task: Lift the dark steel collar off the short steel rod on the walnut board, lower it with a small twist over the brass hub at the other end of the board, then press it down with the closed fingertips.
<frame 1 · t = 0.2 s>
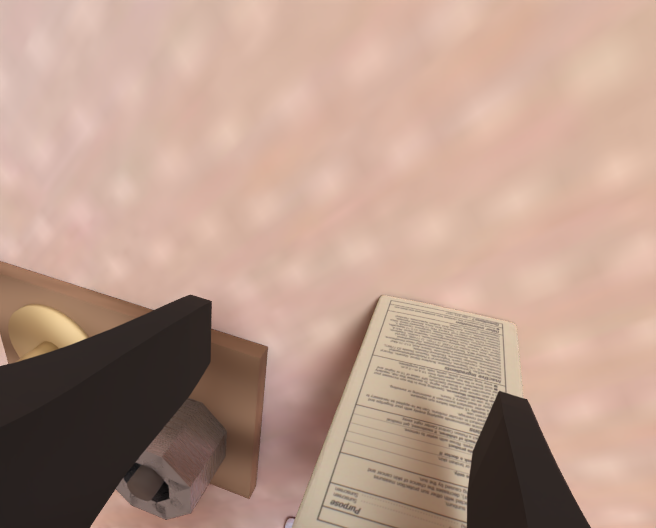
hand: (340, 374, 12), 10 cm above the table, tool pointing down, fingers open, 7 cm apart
collar: (186, 428, 29), point 1 cm above the table, touching board
skincare box: (442, 340, 22), on the table
board: (131, 377, 30), on the table
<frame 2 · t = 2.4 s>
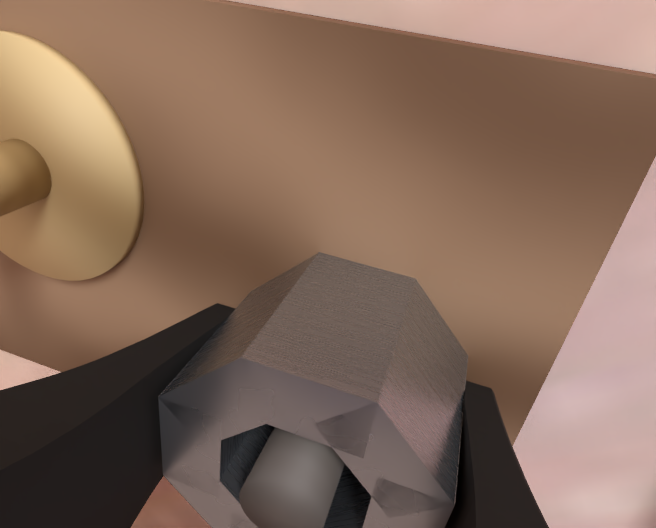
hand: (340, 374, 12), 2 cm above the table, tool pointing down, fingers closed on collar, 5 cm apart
collar: (347, 356, 12), point 1 cm above the table, touching board, gripper
board: (210, 244, 13), on the table
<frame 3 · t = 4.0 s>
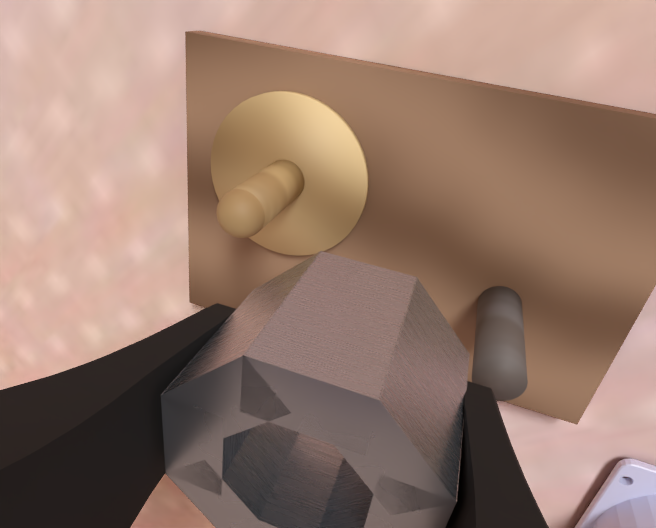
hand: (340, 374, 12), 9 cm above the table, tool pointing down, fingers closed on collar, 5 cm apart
collar: (349, 355, 12), point 8 cm above the table, touching gripper
board: (397, 230, 19), on the table
when the fingers open (4 cm above the table, at t = 6.1 s): collar drops 1 cm, resting on board.
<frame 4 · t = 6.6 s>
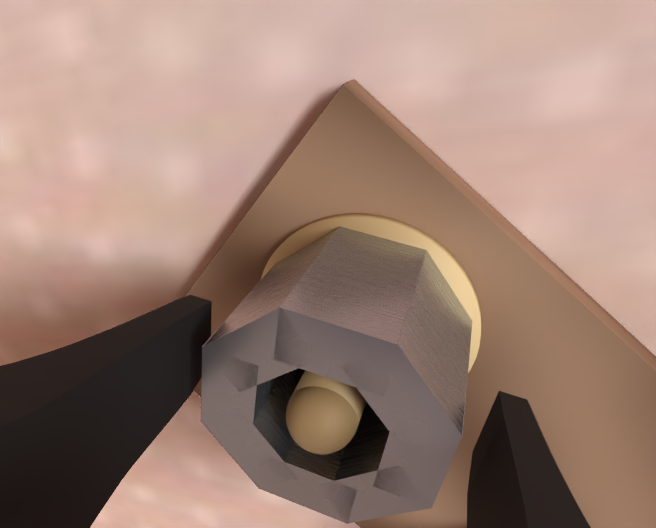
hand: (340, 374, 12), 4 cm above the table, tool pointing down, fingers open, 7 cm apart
collar: (362, 323, 13), point 1 cm above the table, touching board
board: (445, 413, 16), on the table
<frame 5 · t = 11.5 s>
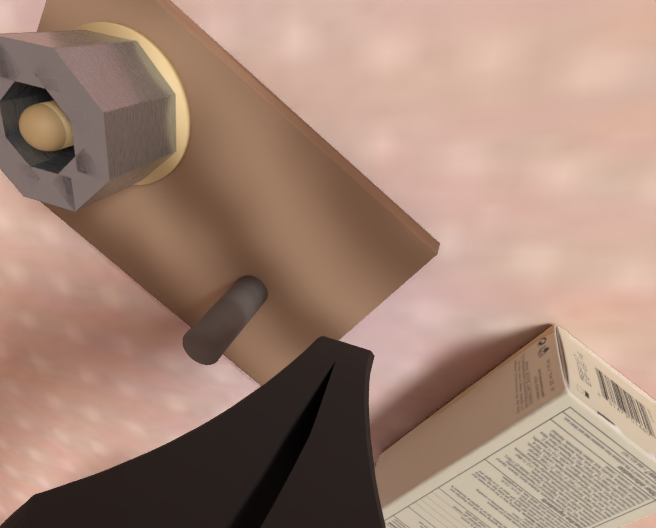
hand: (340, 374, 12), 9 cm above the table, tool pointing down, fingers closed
collar: (116, 108, 20), point 1 cm above the table, touching board
skincare box: (631, 401, 18), point 2 cm above the table
board: (202, 196, 22), on the table
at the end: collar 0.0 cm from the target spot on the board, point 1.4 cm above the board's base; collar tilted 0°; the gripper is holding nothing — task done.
